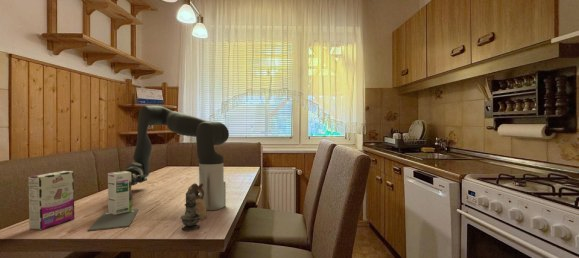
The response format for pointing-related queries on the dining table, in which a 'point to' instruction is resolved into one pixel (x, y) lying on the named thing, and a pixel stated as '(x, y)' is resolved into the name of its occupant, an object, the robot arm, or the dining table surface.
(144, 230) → the dining table surface
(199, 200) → the figurine
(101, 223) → the mat
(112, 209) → the syrup box
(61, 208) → the candy bar box
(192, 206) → the dark grey chess piece
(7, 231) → the dining table surface
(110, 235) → the dining table surface
